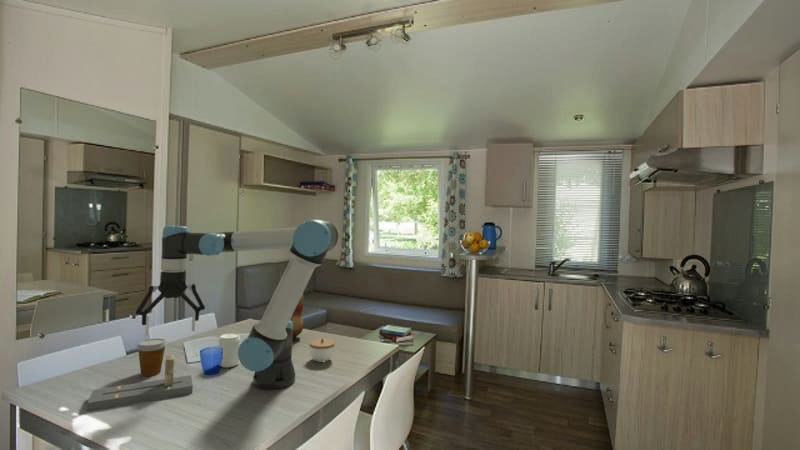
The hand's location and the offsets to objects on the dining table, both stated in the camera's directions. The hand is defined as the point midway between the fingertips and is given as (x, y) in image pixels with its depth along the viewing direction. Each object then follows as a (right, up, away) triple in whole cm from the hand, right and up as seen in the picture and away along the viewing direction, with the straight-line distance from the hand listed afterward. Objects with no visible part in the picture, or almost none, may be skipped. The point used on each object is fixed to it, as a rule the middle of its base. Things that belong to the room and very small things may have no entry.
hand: (170, 332), depth 130 cm
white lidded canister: (+8, -21, +26) cm, 34 cm away
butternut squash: (+22, -22, +63) cm, 71 cm away
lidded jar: (+44, -23, +36) cm, 61 cm away
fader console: (-7, -20, -4) cm, 21 cm away
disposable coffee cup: (-16, -20, +14) cm, 29 cm away
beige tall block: (-1, -18, 0) cm, 18 cm away
